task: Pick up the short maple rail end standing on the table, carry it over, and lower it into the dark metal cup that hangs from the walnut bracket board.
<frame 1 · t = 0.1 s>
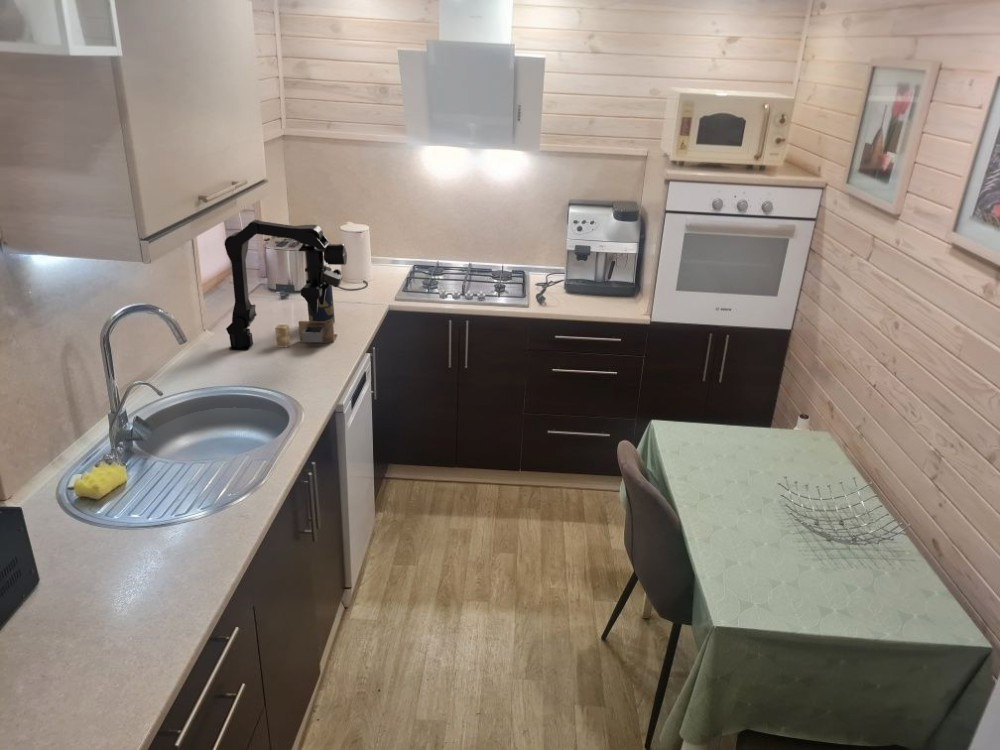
hand: (318, 308, 240), 15 cm above the worktop, tool pointing down, fingers open, 9 cm apart
rail end: (283, 345, 248), on the worktop
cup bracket: (315, 345, 248), on the worktop
canister: (322, 326, 267), on the worktop
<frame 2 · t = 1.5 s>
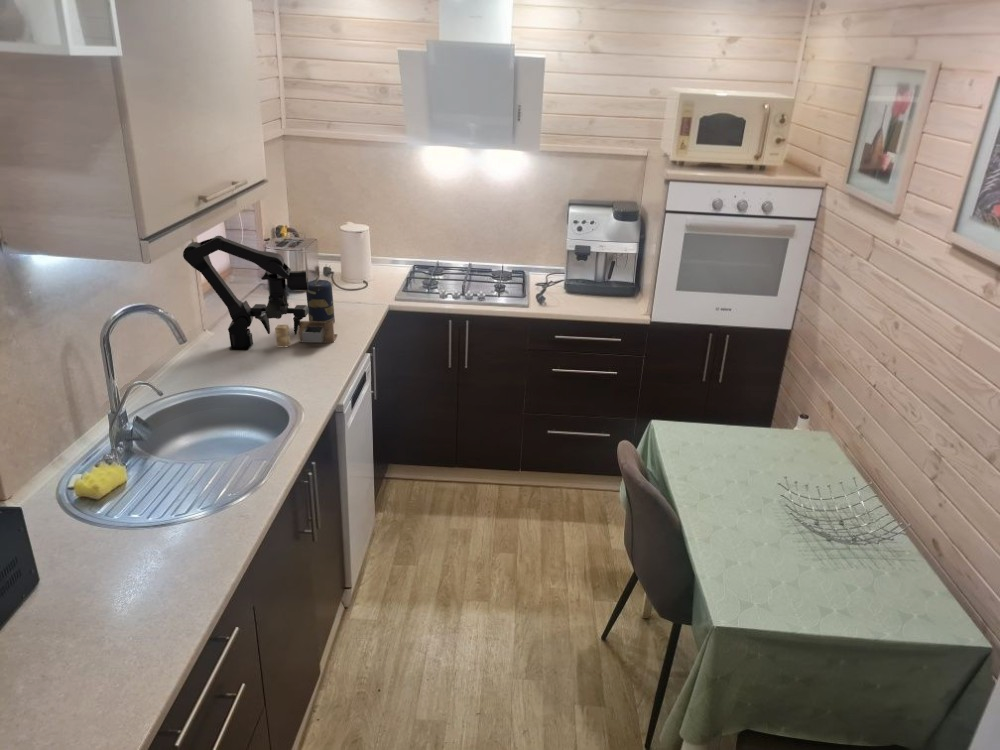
hand: (282, 334, 246), 4 cm above the worktop, tool pointing down, fingers open, 9 cm apart
nothing on the worktop moved.
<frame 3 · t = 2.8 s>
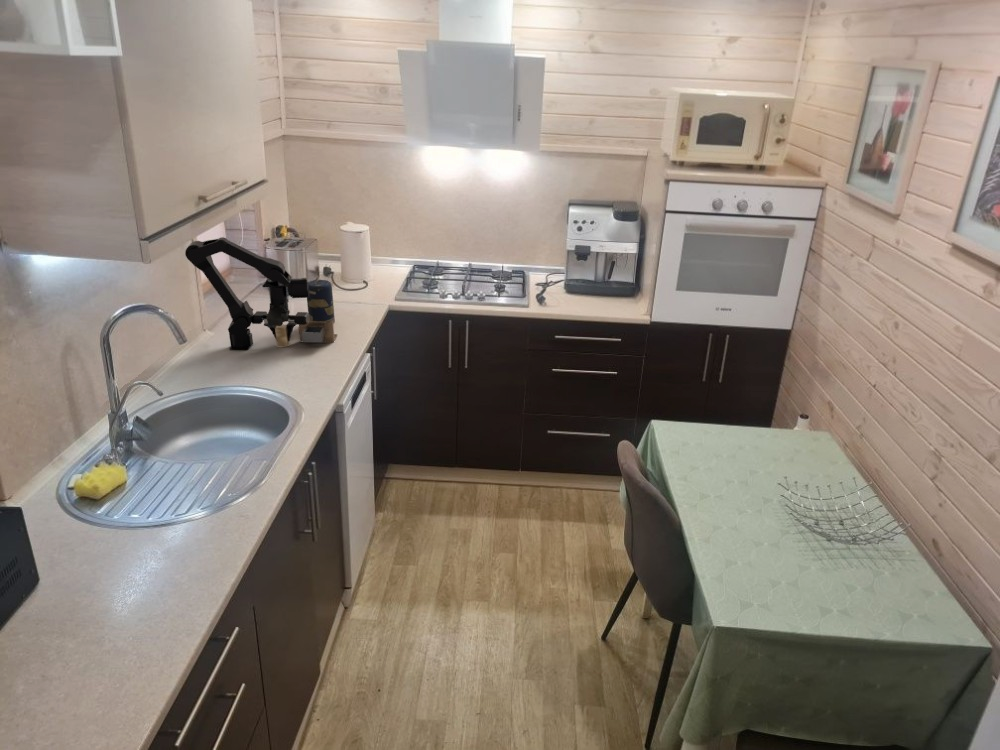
hand: (283, 340, 247), 2 cm above the worktop, tool pointing down, fingers closed on rail end, 4 cm apart
rail end: (283, 345, 248), on the worktop, touching gripper
everything else where it was.
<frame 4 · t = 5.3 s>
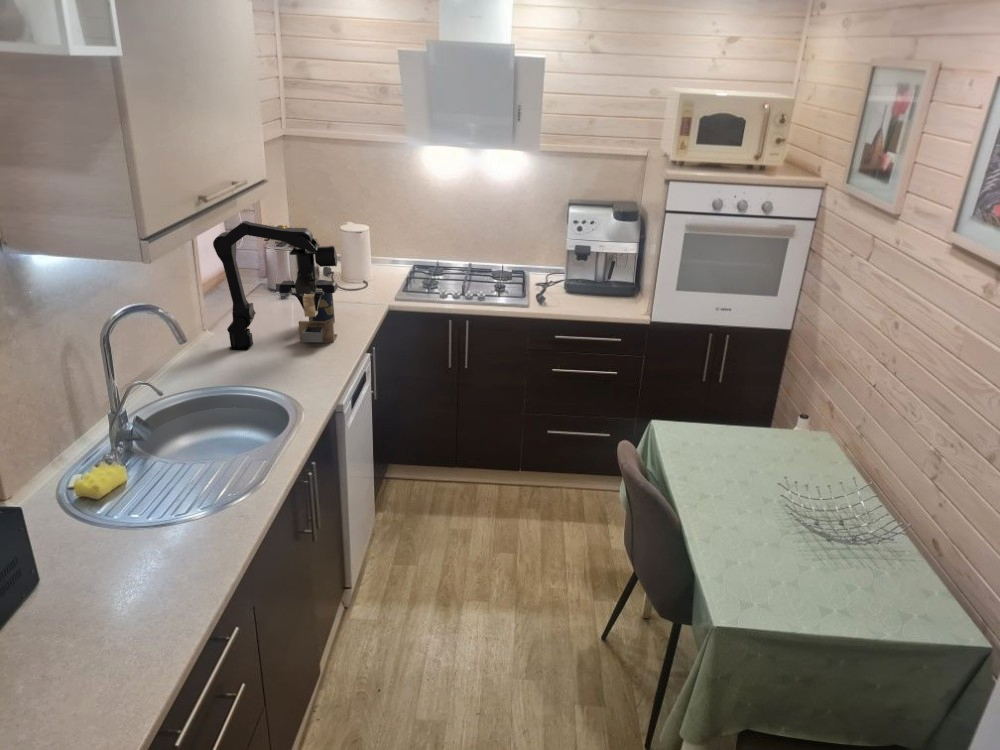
hand: (310, 310, 243), 13 cm above the worktop, tool pointing down, fingers closed on rail end, 4 cm apart
rail end: (311, 314, 243), point 11 cm above the worktop, touching gripper
everything else where it was.
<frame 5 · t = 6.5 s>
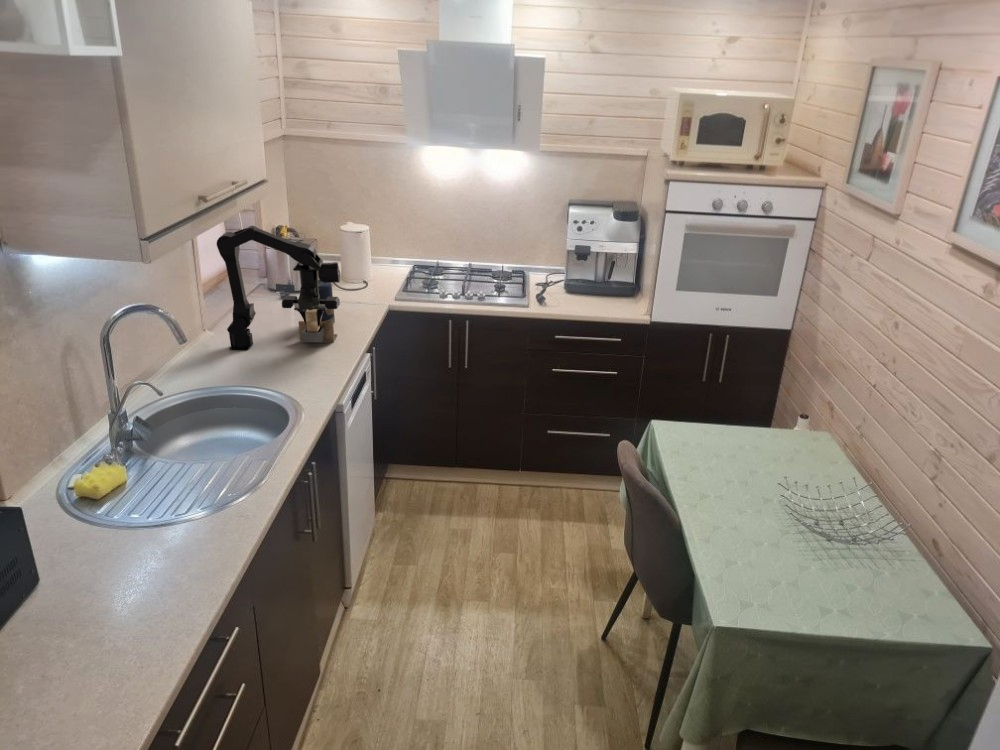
hand: (313, 325, 245), 7 cm above the worktop, tool pointing down, fingers closed on rail end, 4 cm apart
rail end: (313, 329, 245), point 6 cm above the worktop, touching gripper
everything else where it was.
when the fingers open (6 cm above the worktop, at t = 7.7 s): rail end drops 1 cm, resting on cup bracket.
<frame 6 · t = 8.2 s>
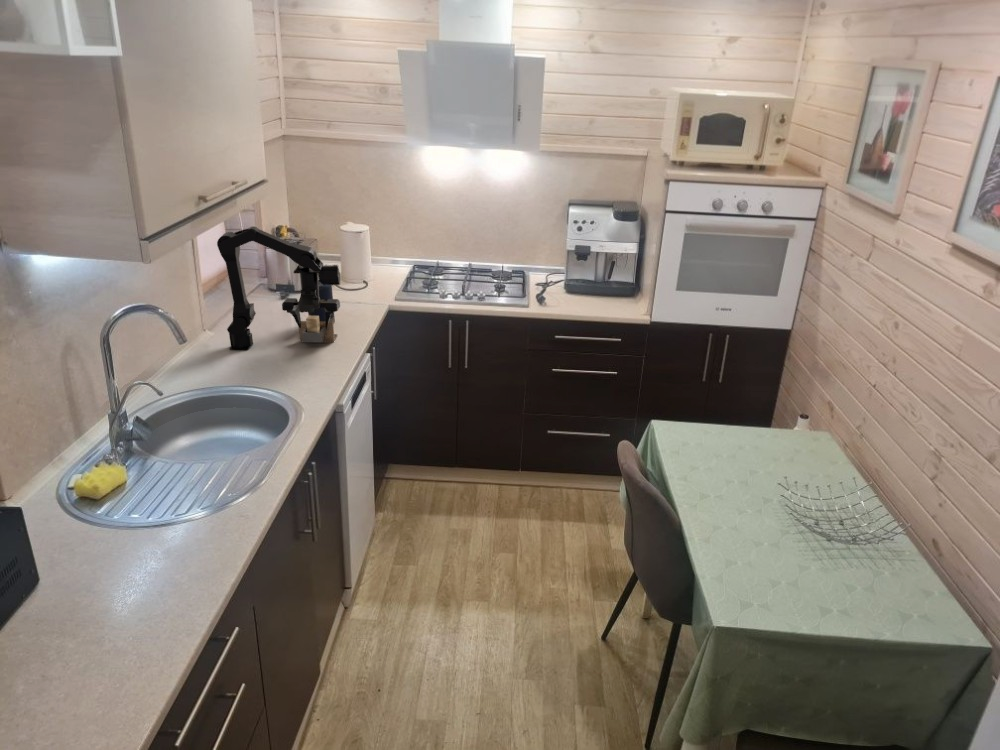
hand: (313, 328, 245), 6 cm above the worktop, tool pointing down, fingers open, 9 cm apart
rail end: (314, 336, 246), point 3 cm above the worktop, touching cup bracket
everything else where it was.
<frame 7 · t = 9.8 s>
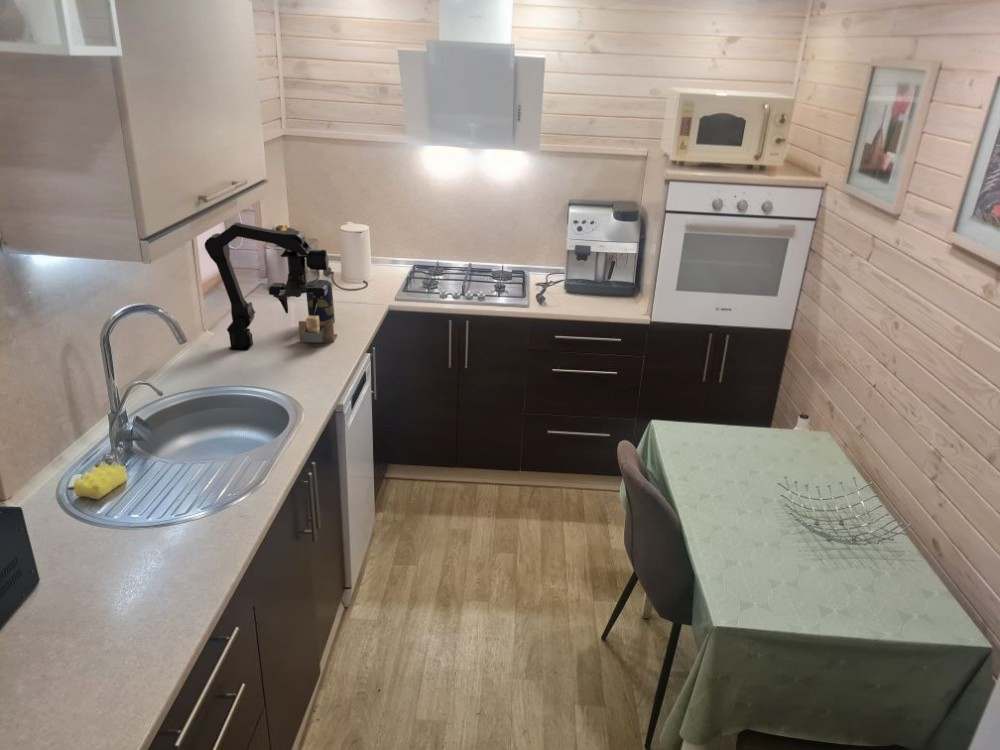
hand: (300, 313, 242), 12 cm above the worktop, tool pointing down, fingers open, 9 cm apart
nothing on the worktop moved.
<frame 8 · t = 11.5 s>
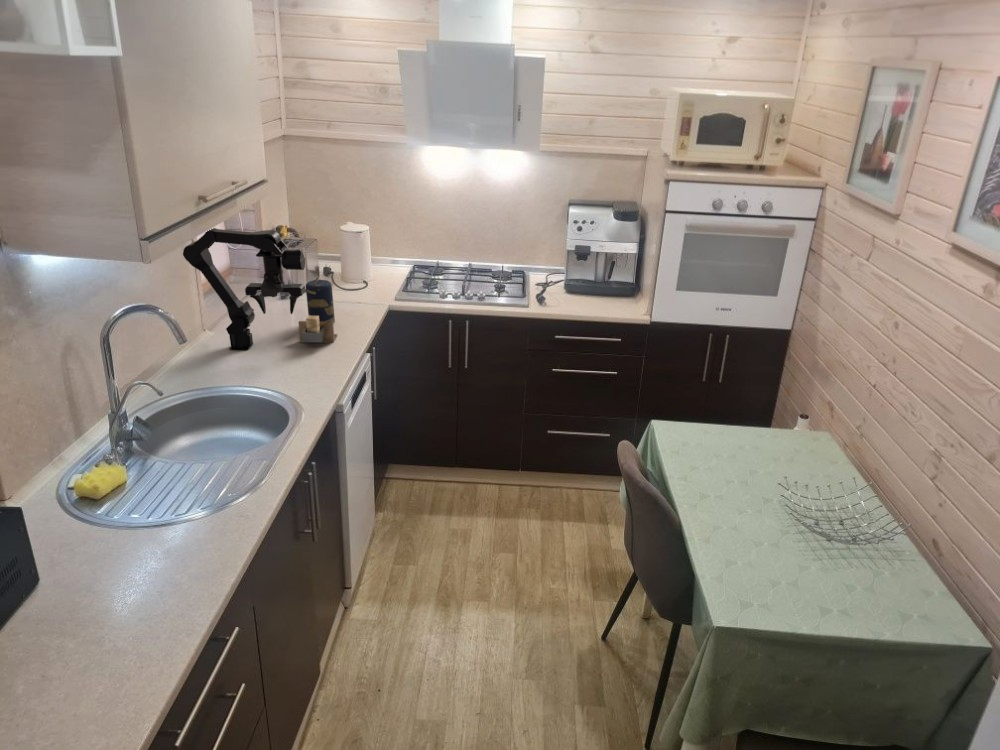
hand: (278, 313, 240), 13 cm above the worktop, tool pointing down, fingers open, 9 cm apart
nothing on the worktop moved.
at the end: rail end 0.0 cm off-centre on the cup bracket, point 3.5 cm above the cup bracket's base; rail end tilted 0°; the gripper is holding nothing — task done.
